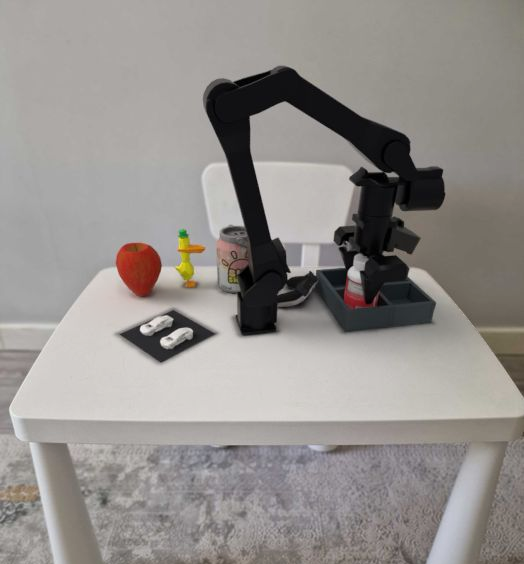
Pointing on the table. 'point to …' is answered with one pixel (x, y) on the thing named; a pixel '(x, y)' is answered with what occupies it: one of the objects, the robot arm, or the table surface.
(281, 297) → the gaming controller
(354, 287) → the pill bottle
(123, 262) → the apple
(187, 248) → the toy figure
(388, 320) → the tray
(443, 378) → the table surface
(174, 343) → the black mat with cars
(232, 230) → the beverage can
